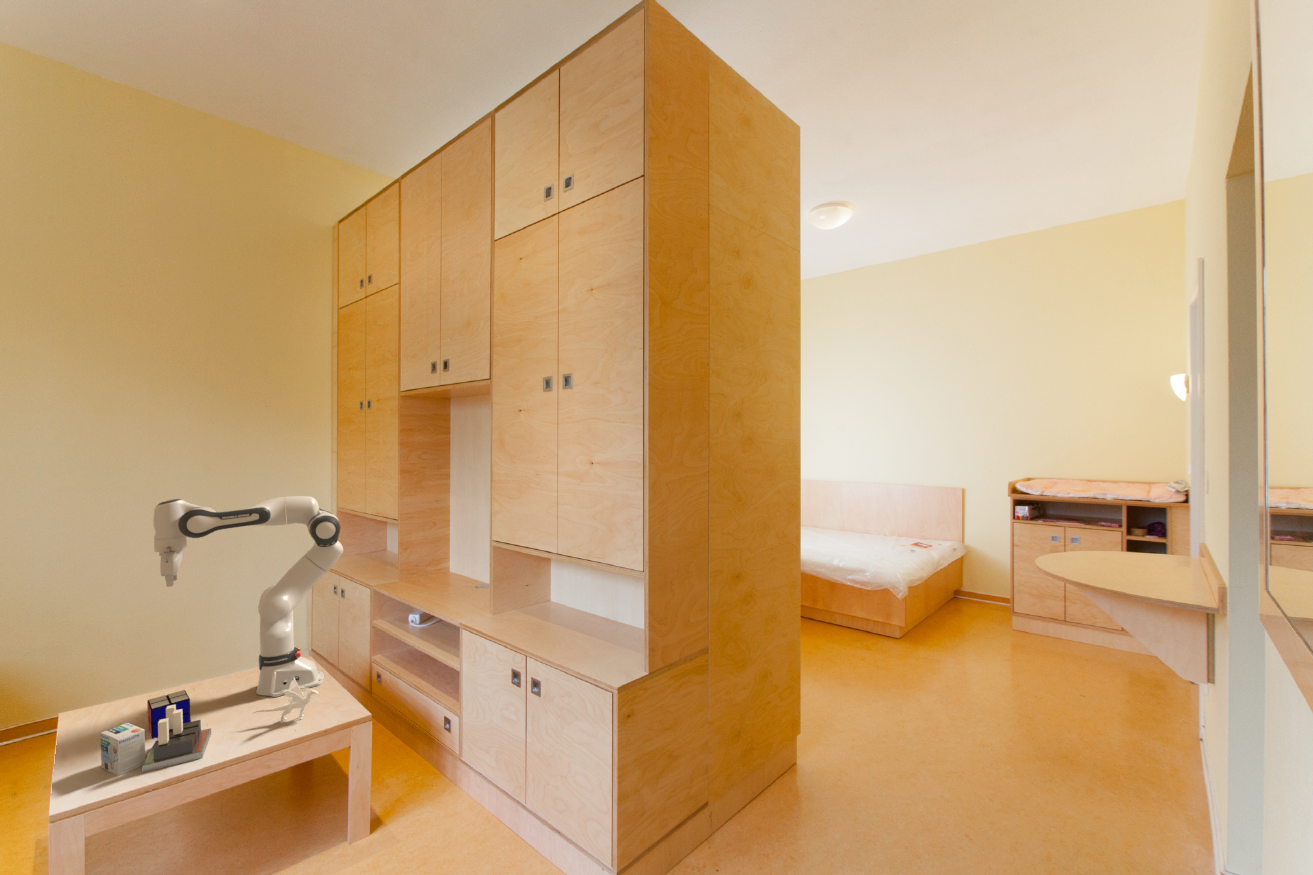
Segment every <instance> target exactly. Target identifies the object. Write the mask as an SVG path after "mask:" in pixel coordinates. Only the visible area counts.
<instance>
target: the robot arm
mask: <svg viewBox="0 0 1313 875" xmlns="http://www.w3.org/2000/svg"><path fill="white" fill-rule="evenodd" d="M153 510H154V511H153V528H154V531H155V532H154V533H155V534H154V537H153V547H154V550H153V551H154V552H155V553H158V556H160V576H161V577H164V579H165V582H166V583H165V584H166V586H165V587H167V588H170V587H173V586H174V582H175V581H177V579H178V571H179V568H180V566H181V565H182V563H183V556H184V555H183V554H184V553H183V552H184V549H187V548H188V544H187V543H188V542H187V541H188V540H187V538H191V539H200V538H204V537H206V536H208V535H210V534H212V533H214V532H216V531H221V530H226V529H234V528H243V527H248V526H265V527H266V526H270V527H272V526H273V527H274V526H285V525H286V526H287V525H292V524H303V525H305V526H306V527H307V531H308V533H309V535H310V536H311V538H312V540H313V541H314V544H313V546H312V547H311V548H310V549H309V550H308V551H307V552H306V553H304V554H303V556H301V557H300V558H299V559H298V560H297V561H296V562H295V563H294V564H293V565H292V566H291V567H290V568H289V569H288V570H287V571H286V573H285V574H284V575H283V576H282V577H281V579H280V580H278V582H277V583H276V584H273V585H271V586H269V587H267V588H266V589H264V590H263V591H262V593H261V595H260V598H259V600H258V608H257V610H258V614H259V649H260V650H259V651H260V652H259V655H258V668H259V678H258V683H257V688H256V691H255V693H256V694H257V695H258V696H264V697H265V696H268V697H269V696H270V697H273V698H277V697H280V696H283V695H284V696H285V692H286V690H289V687H290V684H291V682H292V680H293V679H294V678H295V680H296V682H297V684H298V686H299V688H300V689H304V688H301V687H305V688H309V689H311V688H313V687H317V686H319V685H320V684H322V683H323V682H324V680H325V675H324V672H323V671H321V670H318V667H317V665H316V663H315V662H314V661H313V660H311V659H308V658H307V657H303V656H302V652H301V648H300V647H295V629H294V624H295V623H294V609H295V608H296V607H297V606H298V604H299V603H301V601H302V600H303V599H304V598H305V596H306V595H307V594H308V592H309V591H310V590H311V589H312V588H313V587H314V586H315V585H316V583H318V582H319V581H320V580H321V579H322V578H323V576H325V575H326V574H327V573H328V572H329V571H330V570H331V569H332V567H334V566H335V564H336V563H337V562H338V560H339V559H340V558H341V557H342V554H343V553H344V547H343V544H342V543H341V542H340V541H339V536H340V532H341V529H342V528H341V523H340V520H339V518H338V517H337V516H336V515H334V513H332V512H330V511H328V510H325V509H322V508H320V504H319V503H318V500H317V499H316V498H314V497H313V496H310V495H286V496H279V497H273V498H269V499H265V500H263V501H261V502H259V503H257V504H255V505H252V506H250V507H247V508H241V509H235V510H226V511H219V512H218V511H216V510H215V509H214V508H212V507H209V506H204V505H197V504H194V503H191V502H188V501H186V500H184V499H182V498H176V499H175V498H174V499H170V500H166V501H161V502H160V503H158V504H157V505H156V506H155V507H154V509H153Z"/></svg>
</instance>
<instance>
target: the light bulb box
mask: <svg viewBox="0 0 1313 875" xmlns="http://www.w3.org/2000/svg"><path fill="white" fill-rule="evenodd" d="M145 733H146V732H145V728H142V727H139V726H137V725H134V724H131V723H129V722H124V723H123V724H120V725H118V726H115V727H112V728H110V729H107V730H104V731H101V732H100V734H99V735H100V767H101V768H102V769H104V770H106V772H110V773H111V774H114V775H115V776H117V777H120V776H122V775H124V774H127V773H129V772H131V771H133V770H136V769H138V768H140V767H142V765H143V763H144V762H145V760H146V744H145V743H146V742H145V741H146V739H145V735H146V734H145Z"/></svg>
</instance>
